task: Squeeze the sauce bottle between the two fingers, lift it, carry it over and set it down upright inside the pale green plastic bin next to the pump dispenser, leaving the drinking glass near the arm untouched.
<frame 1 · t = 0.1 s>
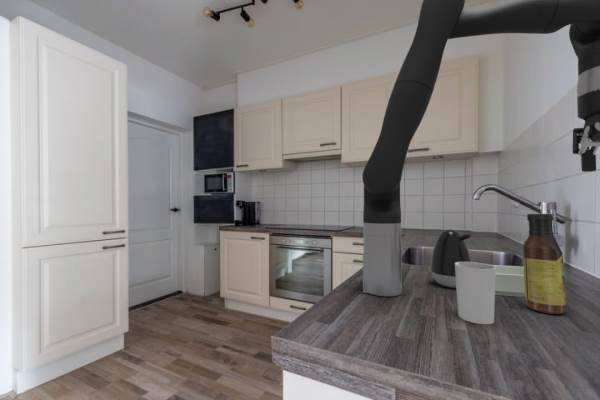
sauce bottle: (544, 310, 56), on the table
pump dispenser: (451, 286, 73), on the table
bin: (508, 289, 69), on the table
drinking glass: (475, 318, 51), on the table
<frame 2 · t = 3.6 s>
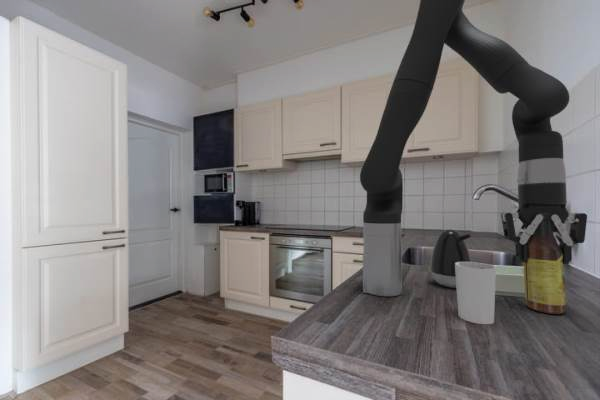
hand: (543, 262, 56), 10 cm above the table, tool pointing down, fingers closed on sauce bottle, 6 cm apart
sauce bottle: (544, 310, 56), on the table, touching gripper
everything else where it was.
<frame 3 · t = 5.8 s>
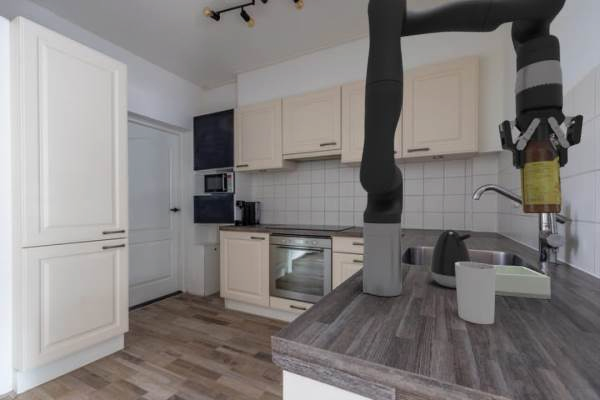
hand: (539, 167, 57), 29 cm above the table, tool pointing down, fingers closed on sauce bottle, 6 cm apart
sauce bottle: (540, 214, 56), point 20 cm above the table, touching gripper
everything else where it was.
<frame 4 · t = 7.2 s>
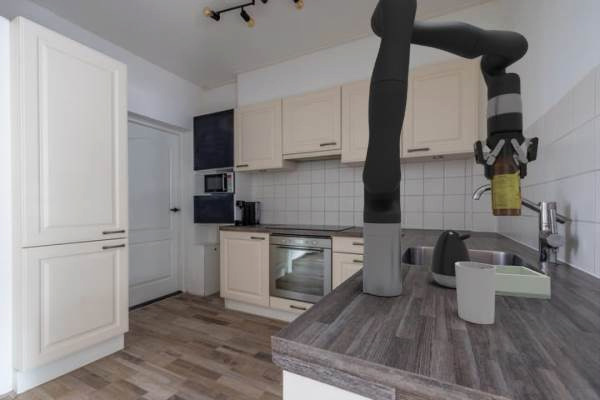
hand: (505, 179, 70), 29 cm above the table, tool pointing down, fingers closed on sauce bottle, 6 cm apart
sauce bottle: (506, 217, 70), point 19 cm above the table, touching gripper
everything else where it was.
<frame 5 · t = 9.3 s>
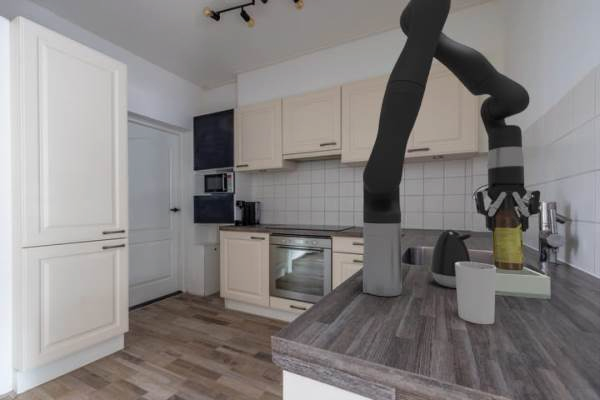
hand: (506, 230, 70), 15 cm above the table, tool pointing down, fingers closed on sauce bottle, 6 cm apart
sauce bottle: (507, 269, 69), point 5 cm above the table, touching gripper
everything else where it was.
when the fingers open (12 cm above the table, at t = 11.0 s): sauce bottle drops 1 cm, resting on bin.
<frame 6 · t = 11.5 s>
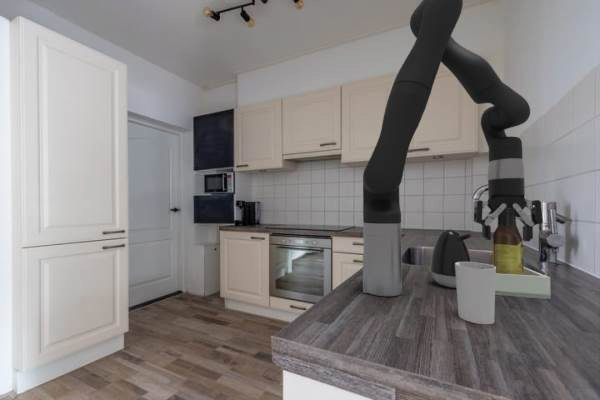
hand: (507, 240, 70), 13 cm above the table, tool pointing down, fingers open, 8 cm apart
sauce bottle: (507, 286, 69), point 1 cm above the table, touching bin
everything else where it was.
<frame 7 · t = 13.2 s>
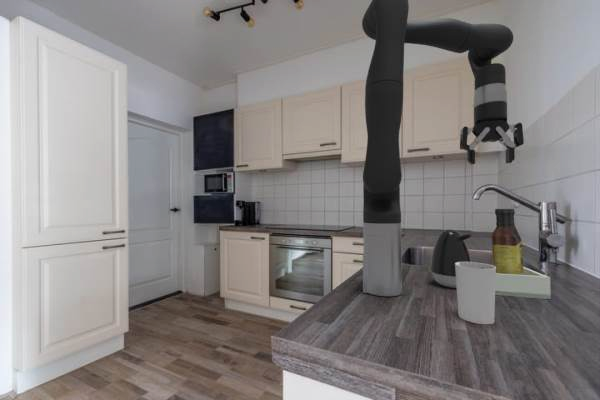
hand: (490, 163, 73), 33 cm above the table, tool pointing down, fingers open, 8 cm apart
nothing on the table moved.
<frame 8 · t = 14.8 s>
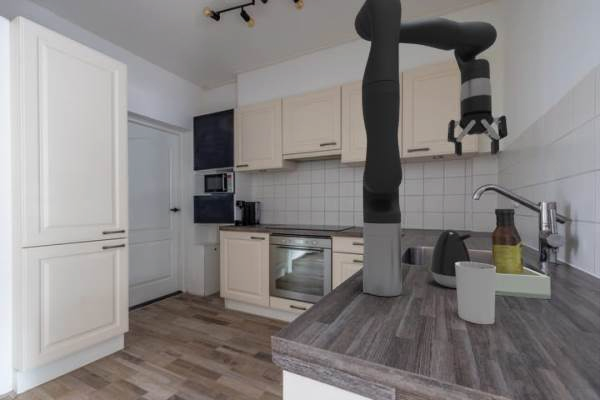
hand: (476, 155, 77), 36 cm above the table, tool pointing down, fingers open, 8 cm apart
nothing on the table moved.
at the end: sauce bottle inside the target area on the bin (0.1 cm from its centre), point 0.8 cm above the bin's base; sauce bottle tilted 0°; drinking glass moved 0.2 cm from its start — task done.
